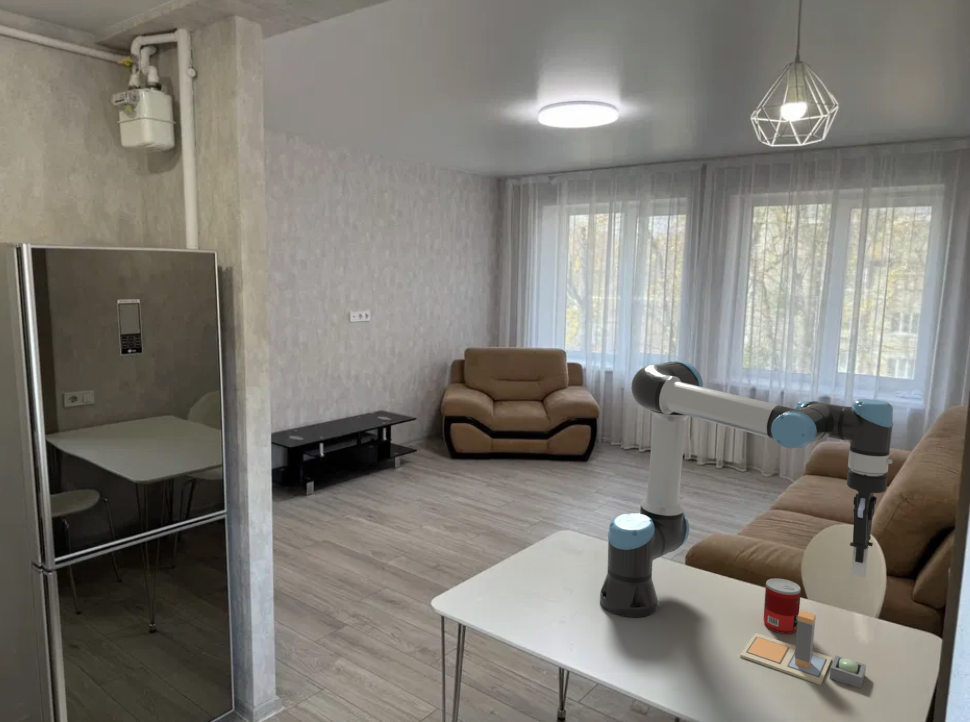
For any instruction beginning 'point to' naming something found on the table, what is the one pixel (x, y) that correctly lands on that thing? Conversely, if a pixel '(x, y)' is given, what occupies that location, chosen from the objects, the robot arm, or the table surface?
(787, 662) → the sheet
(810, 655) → the marker
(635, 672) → the table surface
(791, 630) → the canned food
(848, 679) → the button collar
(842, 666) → the button
